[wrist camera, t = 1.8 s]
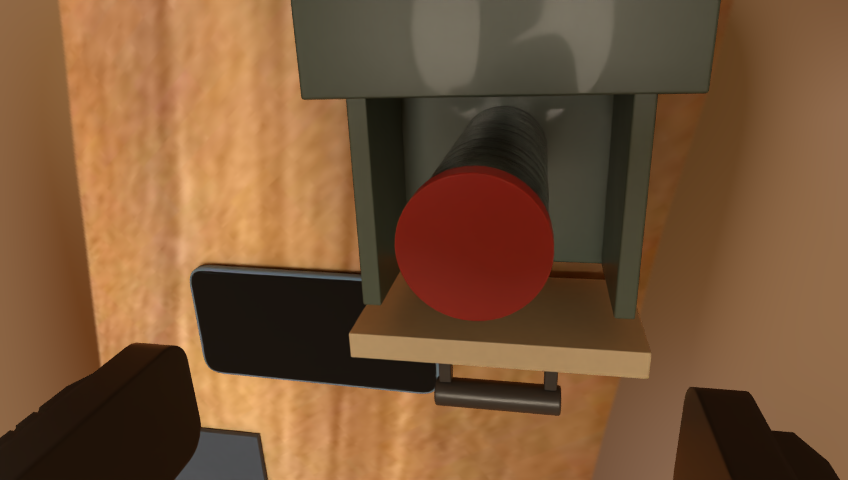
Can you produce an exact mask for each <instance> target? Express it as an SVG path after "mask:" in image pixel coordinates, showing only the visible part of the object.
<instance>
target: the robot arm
mask: <svg viewBox="0 0 848 480" xmlns="http://www.w3.org/2000/svg"><path fill="white" fill-rule="evenodd" d="M200 432H201V422H200V416H199V411H198V407H197V402H196V397H195V392H194V388H193V383H192V378H191V373H190V368H189V364H188V359H187V356H186V354H185V352H184V350H183V349H182V348H180V347H178V346H172V345H159V344H146V343H133V344H131V345H129V346H127V347H126V348H124V349H123V350H122V351H121V352H119V353H118V354H117V355H116V356H114V357H113V358H112V359H111V360H109V361H108V362H107V363H105V364H104V365H103V366H102V367H100V368H99V369H98V370H97V371H95V372H94V373H93V374H91V375H89V376H87V377H85V378H83V379H81V380H79V381H77V382H75V383H73V384H71V385H69V386H67V387H65V388H64V389H63V390H62V391H60V392H59V393H58V394H56V395H55V396H54V397H52V398H51V399H50V400H49V401H47V402H46V403H45V404H43V405H42V406H41V407H40V408H39V411H38V413H37V412H33V413H32V414H30V415H29V416H28V417H27V418H25V419H24V420H23V421H21V422H20V423H19V424H18V425H16V429H15V430H14V431H11V430H10V431H8V432H7V433H6V434H5V435H3V436H2V437H1V438H0V480H175V479H176V477H177V476H178V475H179V474H180V472H181V471H182V470H183V469H184V467H185V466H186V465H187V464H188V462H189V461H190V460H191V458H192V457H193V455H194V453H195V451H196V449H197V446H198V443H199V439H200ZM673 480H840V479H839V478H838V476H837V474H836V473H835V471H834V470H833V468H832V467H831V465H830V463H829V462H828V461H827V460H826V459H825V458H823V457H822V456H821V455H820V454H818V453H817V452H816V451H815V450H814V449H812V448H811V447H810V446H809V445H808V444H807V443H805V442H804V441H803V440H802V439H801V438H799V437H798V436H797V435H796V434H795V433H793V432H782V431H771V429H770V427H769V426H768V424H767V422H766V420H765V418H764V417H763V415H762V413H761V411H760V409H759V407H758V406H757V404H756V402H755V400H754V398H753V397H752V395H751V394H750V393H749V392H747V391H737V390H723V389H710V388H698V387H690V388H689V389H688V390H687V392H686V395H685V400H684V406H683V413H682V420H681V427H680V434H679V441H678V448H677V454H676V461H675V468H674V476H673Z"/></svg>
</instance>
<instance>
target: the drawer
mask: <svg viewBox="0 0 848 480" xmlns="http://www.w3.org/2000/svg"><path fill="white" fill-rule="evenodd" d="M657 99H658V94H632V95H568V96H504V97H440V98H376V99H346V103H347V115H348V127H349V139H350V150H351V162H352V174H353V186H354V198H355V209H356V221H357V233H358V245H359V257H360V268H361V280H362V292H363V303H364V304H365V305H366V307H365V308H364V310H363V311H362V313H361V315H360V316H359V318H358V319H357V321H356V323H355V324H354V326H353V328H352V329H351V331H350V332H349V340H350V351H351V357H360V358H373V359H387V360H400V361H414V362H427V363H439V376H438V377H437V379H436V383H435V392H434V399H435V404H436V405H442V406H453V407H465V408H476V409H487V410H499V411H510V412H521V413H533V414H544V415H555V416H559V415H560V412H561V387H560V386H559V385H557V378H558V372H562V373H576V374H589V375H603V376H617V377H630V378H644V379H648V378H649V371H650V363H651V351H650V347H649V344H648V341H647V338H646V335H645V332H644V328H643V325H642V322H641V319H640V316H639V313H638V310H637V306H636V305H637V295H638V285H639V275H640V265H641V256H642V246H643V236H644V226H645V217H646V207H647V197H648V187H649V177H650V168H651V158H652V148H653V138H654V128H655V119H656V109H657ZM497 106H511V107H516V108H519V109H522V110H524V111H526V112H527V113H529V114H530V115H532V116H533V117H534V118H535V119H536V120H537V121H538V122H539V124H540V125H541V127H542V128H543V131H544V133H545V136H546V139H547V145H548V184H549V217H550V220H551V223H552V228H553V233H554V259H553V261H554V262H580V263H602V268H603V272H604V276H605V280H598V279H575V278H552V277H548V279H547V282H546V283H545V285H544V287H543V288H542V290H541V291H540V292H539V293H538V295H537V296H536V297H535V298H534V299H533V300H532V301H531V302H530V303H529V304H527V305H526V306H524V307H523V308H522V309H520V310H518V311H516V312H514V313H513V314H510V315H508V316H505V317H502V318H498V319H494V320H487V321H468V320H461V319H457V318H453V317H450V316H447V315H445V314H443V313H440V312H438V311H436V310H435V309H433V308H432V307H430V306H428V305H427V304H426V303H424V302H423V301H422V300H421V299H420V298H419V297H418V296H417V295H416V294H415V293H414V292H413V291H412V290H411V288H410V287H409V286H408V284H407V283H406V281H405V279H404V278H403V276H402V274H401V271H400V269H399V266H398V263H397V259H396V254H395V233H396V227H397V224H398V220H399V218H400V216H401V213H402V211H403V209H404V208H405V206H406V205H407V203H408V202H409V200H410V199H411V198H412V196H413V195H414V194H415V192H416V191H417V190H418V189H419V188H420V187H421V186H422V185H423V184H424V183H425V182H427V181H428V180H429V179H430V177H431V176H432V174H433V173H434V172H435V170H436V169H437V167H438V166H439V164H440V163H441V162H442V160H443V159H444V157H445V156H446V155H447V153H448V152H449V150H450V149H451V147H452V146H453V145H454V143H455V142H456V140H457V139H458V138H459V136H460V135H461V133H462V132H463V130H464V129H465V128H466V126H467V125H468V123H469V122H470V121H471V120H472V119H473V118H474V117H475V116H476V115H478V114H479V113H481V112H482V111H484V110H486V109H489V108H492V107H497ZM453 364H454V365H468V366H481V367H495V368H508V369H522V370H535V371H544V384H534V383H522V382H509V381H496V380H483V379H470V378H458V377H453Z"/></svg>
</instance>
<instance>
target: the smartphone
mask: <svg viewBox="0 0 848 480" xmlns="http://www.w3.org/2000/svg"><path fill="white" fill-rule="evenodd" d="M190 287H191V292H192V297H193V303H194V308H195V313H196V319H197V324H198V329H199V335H200V340H201V345H202V351H203V356H204V359H205V362H206V364H207V365H208V367H209V368H210V369H212V370H213V371H216V372H219V373H223V374H233V375H243V376H252V377H262V378H272V379H282V380H292V381H302V382H311V383H321V384H331V385H341V386H351V387H360V388H370V389H380V390H390V391H400V392H409V393H420V394H426V393H431V392H433V391H435V383H436V379H437V377H438V376H439V363H427V362H414V361H400V360H387V359H373V358H360V357H351V351H350V340H349V332H350V331H351V329H352V328H353V326H354V324H355V323H356V321H357V319H358V318H359V316H360V315H361V313H362V311H363V310H364V308H365V307H366V305H365V304H364V303H363V292H362V280H361V274H345V273H329V272H313V271H297V270H281V269H265V268H249V267H233V266H217V265H203V266H199V267H198V268H196V269H195V270H194V271H193V272H192V273H191V276H190Z"/></svg>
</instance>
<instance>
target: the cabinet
mask: <svg viewBox="0 0 848 480" xmlns="http://www.w3.org/2000/svg"><path fill="white" fill-rule="evenodd" d="M720 3H721V0H291V7H292V16H293V25H294V34H295V43H296V52H297V61H298V70H299V79H300V88H301V97H302V99H304V100H312V99H376V98H440V97H504V96H568V95H632V94H696V93H708V91H709V86H710V78H711V71H712V63H713V56H714V48H715V41H716V33H717V25H718V18H719V10H720Z"/></svg>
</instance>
